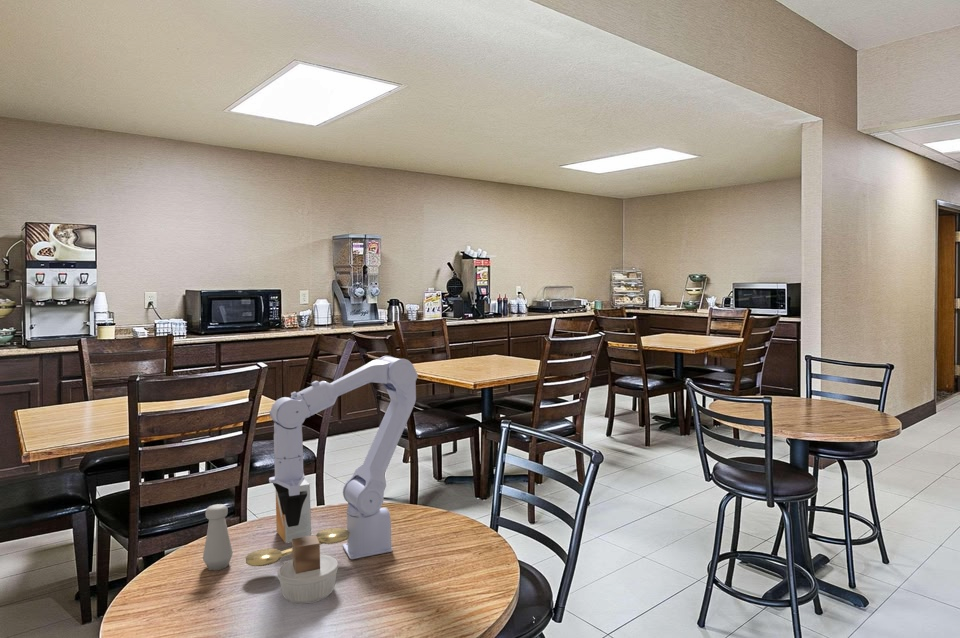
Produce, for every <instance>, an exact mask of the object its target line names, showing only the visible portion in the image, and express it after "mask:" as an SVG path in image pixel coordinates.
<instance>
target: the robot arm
mask: <svg viewBox="0 0 960 638" xmlns="http://www.w3.org/2000/svg"><path fill="white" fill-rule="evenodd" d="M418 376H419V375H418V373H417V371H416V369H415V366H414V364H413V362H411V361H410V360H409V359H406V358H397V357H394V356H391V355H384V356H381V357H380V358H377V359H373V360H371V361H369V362H367V363H365V364H364V365H362V366H360V367H358V368H357V369H354V370H352V371H351V372H349V373H347V374H345V375H343V376H341V377H340V378H338V379H335V380H334V381H332V382H328V381H325V380H321V381H318V380H314V381H313V382H311V385H310V386H309V387H306V388H304V389H301V390H300V391H298V392H296V391H293V392H290V395H291V396H290V397H287V396H284V397H280V398H277V399H276V400H275V401H274V403H273V404H272V405H271V408H270V411H269V416H270V418H271V420H272V421H273V454H274V455H273V459H274V476H271V477H268V481H269V482H268V483H269V484H273V486H274V488H275V491H276V490H277V493H278V497H279V500H280V505H281V510H282V513H283V515H285V518H286V522H287V525H288V527H292V526H298V525H299V521H300V515H301V510H302V506H303V503H304V501H305V499H306V497H307V491H301V492H300V485H301V483H302V482H303V480H304V479H305V473H304V452H303V450H304V449H303V447H304V446H303V445H304V444H303V439H304V438H303V428H302V427H303V424H304V422H305V420H306V419H307V418H310V417H311V416H314V415H315V414H317V413H320V412H321V411H324V410H326V409H328V408H330V407H332V406H334V405H335V403H336V401H337V399H338V397H340V396H342V395H344V394H347V393H349V392H351V391H353V390H355V389H358V388H360V387H362V386H364V385H368V384H371V383H376V384H381V385H382V386H383V387H384V388H385V390H386V392H387V395H388V396H389V399H390V402H389V404H388V406H387V409H386V411H385V413H384V416H383V418H382V420H381V422H380V424H379V426H378V429H377V431H376V433H375V436H374V438H373V440H372V443H371V445H370V447H369V450H368V452H367V454H366V457H365V458H364V461H363V463H362V465H360V466H359V467H358V468H356V469H355V470H354V472H353V474H352V476H351V477H350V478H349V479H348V480H347V481H346V482H345V483H344V486H343V488H342V496H343V499H344V500H345V501H346V502H347V507H346V528H347V529H346V530H348V531H349V538H348V539H346V540H347V541H346V543H343V544H342V547H343V549H344V551H345V553H346V555H347V556H348V557H349V559H350V560H355V559H361V558H366V557H371V556H376V555H380V554H387V553H390V552H391V553H392V552H393V548H392V521H391V519H392V518H391V514H390V510H389V509H388V507H387V506H386V507H385V506H384V507H382V506H383V504H384V498H385V496H384V495H385V490H386V487H387V480H386V472H387V469H388V466H389V465H390V462H391V461H392V458H393V457H394V456H393V455H394V453H395V451H396V449H397V446H398V445H399V441H400V440H401V437H402V435H403V432H404V430H405V427H406V425H407V423H408V420H409V418H410V416H411V413H412V411H413V409H414V407H415V404H416V401H417V388H416V382H417V379H418Z"/></svg>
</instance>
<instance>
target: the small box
mask: <svg viewBox="0 0 960 638" xmlns="http://www.w3.org/2000/svg"><path fill="white" fill-rule="evenodd" d="M301 491H307V497H306V499H305V501H304V503H303V506H302V510H301V515H300V521H299V525H298V526H292V527H288V525H287V522H286V518H285V515H283V513H282V510H281V505H280V500H279V497H278V493H277V490H276V489H275V513H276V514H275V515H276V518H275V519H276V522H275V524H276V533H277V534H278V535H279V537H280V538H281V539H282V542H284V544H289V543H288V542H290V543H292V539H294V538H300V537H306V536H312V518H311V517H312V512H311V511H312V510H311V485H310V483H309V482H308V481H307V480H306V479H305V478H304V480H303V482H302V483H301V485H300V492H301Z"/></svg>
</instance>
